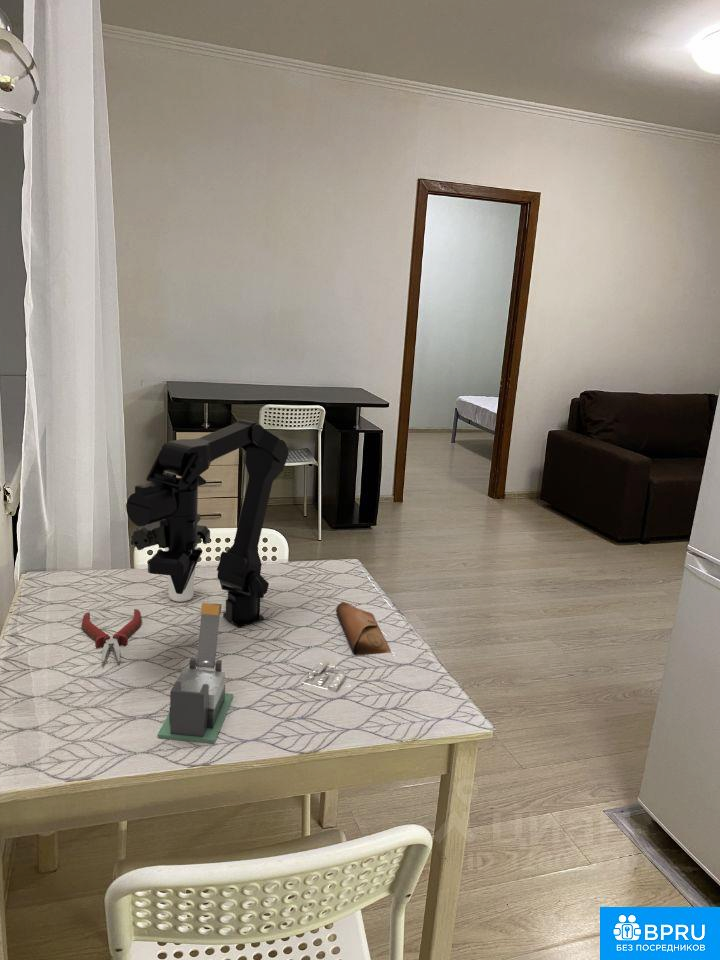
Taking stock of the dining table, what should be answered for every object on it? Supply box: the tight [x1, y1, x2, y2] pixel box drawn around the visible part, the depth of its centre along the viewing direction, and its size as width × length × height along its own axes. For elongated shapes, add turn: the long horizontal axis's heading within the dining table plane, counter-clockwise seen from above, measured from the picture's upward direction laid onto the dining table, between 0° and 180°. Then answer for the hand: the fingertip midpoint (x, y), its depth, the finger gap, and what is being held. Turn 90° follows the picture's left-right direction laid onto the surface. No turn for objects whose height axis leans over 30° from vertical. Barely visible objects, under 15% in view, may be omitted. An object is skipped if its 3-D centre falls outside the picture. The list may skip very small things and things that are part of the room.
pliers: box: [81, 608, 143, 666], centre depth 138 cm, size 11×20×3 cm, turn 18°
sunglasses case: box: [335, 601, 392, 656], centre depth 149 cm, size 18×7×7 cm, turn 13°
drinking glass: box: [164, 544, 198, 603], centre depth 157 cm, size 7×7×15 cm
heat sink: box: [168, 667, 226, 729], centre depth 117 cm, size 8×7×6 cm
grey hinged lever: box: [196, 602, 223, 669], centre depth 120 cm, size 2×3×11 cm, turn 87°
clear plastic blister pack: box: [300, 661, 347, 693], centre depth 132 cm, size 8×7×2 cm
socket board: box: [156, 657, 234, 744], centre depth 116 cm, size 13×9×8 cm
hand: (180, 591), depth 132 cm, fingers closed
